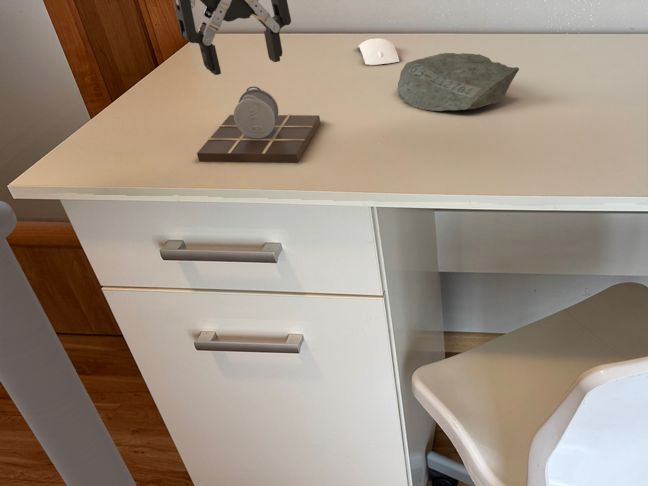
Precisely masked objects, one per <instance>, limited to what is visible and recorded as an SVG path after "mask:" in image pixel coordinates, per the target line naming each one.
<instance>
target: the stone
mask: <svg viewBox="0 0 648 486" xmlns="http://www.w3.org/2000/svg"><path fill="white" fill-rule="evenodd" d="M519 70H520V67H518V66H516V67H511V66H508V65H506V64H503V63H501V62H497V61H496V62H495V61H492V60H491V59H490V58H489V57H487V56H485V55H483V54H480V53H479V54H476V53H464V52H463V53H454V52H444V53H438V54H435V55H429V56H427V57H424V58H417V59H415V60H412V61H409V62H406V63H405V64H404V66H403V68H402V69H401V71H400V74H399V80H398V81H397V89H396V90H397V93H398V94H399V95H400V96H401V98H403V99H404V101H405V102H406V103H407V104H409V105H410V106H412V107H413V108H415V109H416V108H418V109H420V110H423V111H424V110H425V111H432V112H435V111H436V112H444V111H461V110H463V111H464V110H474V109H479V108H483V107H485V106H487V105H492V104H498V103H500V102H501V101H502V99H503V98H504V97H505V96H506V94H507V92H508V90H509V88H510V86H511V84H512V82H513V80H514V79H515V77H516V75H517V74H518V73H519Z"/></svg>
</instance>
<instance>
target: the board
mask: <svg viewBox="0 0 648 486" xmlns="http://www.w3.org/2000/svg"><path fill="white" fill-rule="evenodd" d="M320 125H321V118H320V115H319V114H318V115H316V114H314V115H313V114H312V115H311V114H310V115H308V114H307V115H306V114H303V115H301V114H278V117H277V119H276V121H275V125H274V128H273V130H272V132H271V133H270V134H269V135H267V136H266V137H263V138H252V137H249V136H247V135H245V134H243V133H242V132H241V131H240V130H239V129H238V127H237V126H236V124H235V121H234V114H229V115H228V116H227V118H225V120H223V122H222V123H221V124H220V125H219V126H218V127H217V129H216V130H215V132H213V133H212V135H211V136H210V137H208V139H207V140H206V142H205V143H204V144H202V145H203V146H201V148H200V149H199V150H198V151H196V156H197V158H198V159H197V160H198V161H199V162H232V163H233V162H239V163H240V162H244V163H247V162H248V163H299V161H300V159H301V158H302V155H303V154H304V153H305V151H306V149H307V147H308V145H309V144H310V142H311V140H312V138H313V136H314V135H315V133H316V132H317V130H318V128H319V126H320Z"/></svg>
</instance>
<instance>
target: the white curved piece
mask: <svg viewBox="0 0 648 486" xmlns="http://www.w3.org/2000/svg"><path fill="white" fill-rule="evenodd" d="M357 49H358V50H360V52H361V55H362V57H363V61H364V64H365V65H366V66H367V65H368V66H378V65H383V64H384V65H386V64H387V65H388V64H394V63H400V57H399V55H398V52H397V50H396V47H395V45H394V43H393V42H391V41H390V40H388V39H385V38H378V37H375V38H369V39H366V40H365V41H364V40H363V42H361V43H360V44H359V45H358V46H357Z"/></svg>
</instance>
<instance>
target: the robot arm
mask: <svg viewBox="0 0 648 486" xmlns="http://www.w3.org/2000/svg"><path fill="white" fill-rule="evenodd" d="M199 1H200V2H201V3H202V4H203V5H204V8H203V11H202V13H201V16H200V23H199V25H198V28H196V24H195V19H194V14H193V8H194V7H195V6H196V0H173V2H174V8H175V13H176V18H177V22H178V28H179V33H180V37H181V38H182V39H184V40H186V41H187V42H189V43H191V44H198V46H199V49H200V54H201V57H202V62H203V66H204V67H205V68H206V70H208V71H209V72H210V73H211V74H213V75H214V76H218V75H222V70H221V66H220V61H219V57H218V53H217V49H216V45H215V44H213V41H214V38H215V36H216V33H217V32H218V30H220V28H221V26H222V24H223V21H225V22H228V23H229V22H234V21H236V20H237V19H242V20H243V19H244V20H247V19H250V18H251V16H252V17H254V18H255V19H256V20H257V21H258V22H259V23H260V24H261V25H262V26H263V27H264V28H265V30H263V34H264V40H265V45H266V50H267V56H268V58H269V60H270V61H271V62H273V63H278V62H280V61H281V57H283V48H282V40H281V35H280V31H281V29H282V28H283V27H285V26H289V25H291V24H292V23H291V22H292V18H291V13H290V8H289V4H288V0H270V2H271V7H272V11H273V16H271V14H270V13H269V11H267V9H266V8H265V7H264V6H263V5H262V4H261V3H260V2H259V0H199ZM196 29H197V30H196Z"/></svg>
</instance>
